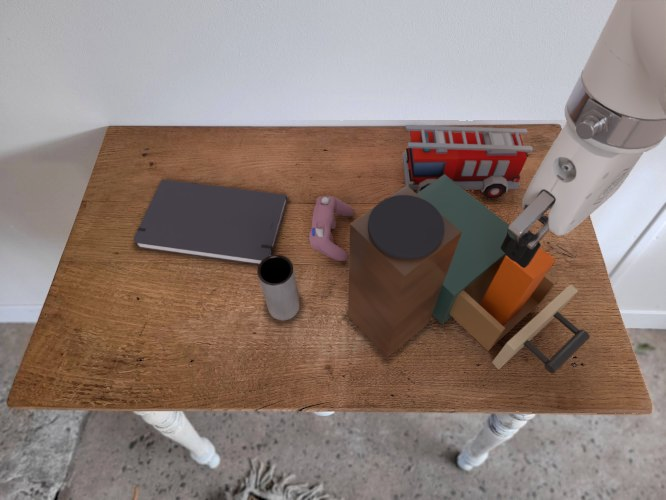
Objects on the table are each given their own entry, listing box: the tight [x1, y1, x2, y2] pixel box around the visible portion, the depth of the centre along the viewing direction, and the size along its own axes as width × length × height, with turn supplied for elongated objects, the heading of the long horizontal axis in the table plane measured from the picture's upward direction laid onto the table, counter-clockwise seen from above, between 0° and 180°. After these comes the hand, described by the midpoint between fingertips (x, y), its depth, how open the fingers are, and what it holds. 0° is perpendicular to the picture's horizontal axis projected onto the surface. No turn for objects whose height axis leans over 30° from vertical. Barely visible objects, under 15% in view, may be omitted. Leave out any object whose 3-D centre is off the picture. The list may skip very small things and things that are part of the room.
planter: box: [256, 254, 301, 321], centre depth 64 cm, size 4×4×10 cm
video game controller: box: [308, 195, 355, 262], centre depth 73 cm, size 10×5×7 cm, turn 172°
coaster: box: [368, 195, 444, 259], centre depth 49 cm, size 8×8×1 cm
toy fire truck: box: [401, 124, 534, 200], centre depth 77 cm, size 9×19×10 cm, turn 90°
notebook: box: [133, 178, 288, 266], centre depth 76 cm, size 13×2×21 cm
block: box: [480, 247, 557, 326], centre depth 60 cm, size 4×4×13 cm
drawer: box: [449, 255, 591, 374], centre depth 63 cm, size 18×12×7 cm
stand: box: [347, 185, 462, 359], centre depth 58 cm, size 8×8×22 cm
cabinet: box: [416, 174, 510, 325], centre depth 69 cm, size 15×14×9 cm
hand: (543, 232), depth 51 cm, fingers open, 9 cm apart
